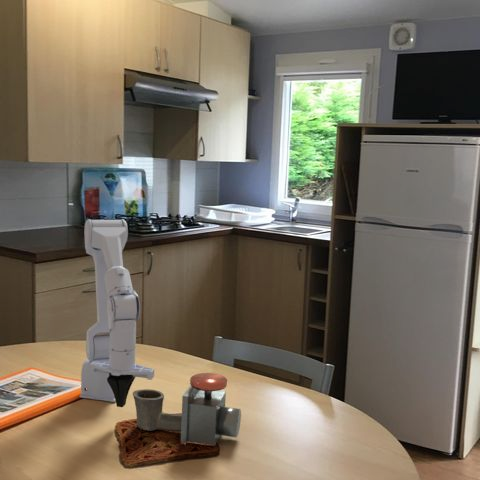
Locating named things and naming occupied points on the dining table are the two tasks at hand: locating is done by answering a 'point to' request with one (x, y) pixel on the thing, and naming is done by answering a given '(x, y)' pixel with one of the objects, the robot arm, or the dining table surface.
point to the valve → (207, 410)
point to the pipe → (154, 412)
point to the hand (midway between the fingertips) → (121, 405)
